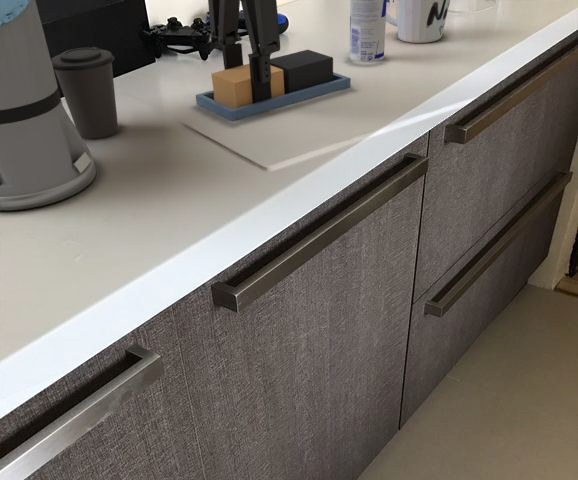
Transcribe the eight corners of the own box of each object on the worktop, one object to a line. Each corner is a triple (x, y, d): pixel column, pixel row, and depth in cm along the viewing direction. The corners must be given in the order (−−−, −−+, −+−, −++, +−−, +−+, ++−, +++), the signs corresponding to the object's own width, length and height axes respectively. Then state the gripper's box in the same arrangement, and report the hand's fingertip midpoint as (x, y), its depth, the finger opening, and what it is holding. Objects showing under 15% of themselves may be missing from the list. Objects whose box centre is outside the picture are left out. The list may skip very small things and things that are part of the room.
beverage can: (390, 62, 107) (395, -47, 98) (358, 67, 106) (361, -43, 96) (374, 54, 111) (378, -52, 102) (343, 59, 110) (344, -48, 100)
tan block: (237, 113, 91) (234, 82, 88) (214, 103, 94) (211, 73, 92) (284, 99, 94) (283, 69, 91) (261, 90, 98) (258, 60, 95)
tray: (232, 125, 89) (231, 111, 88) (196, 107, 95) (195, 94, 94) (350, 90, 98) (350, 77, 97) (310, 76, 104) (310, 64, 103)
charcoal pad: (289, 99, 94) (288, 69, 92) (265, 89, 98) (263, 60, 95) (333, 86, 98) (333, 57, 95) (308, 77, 101) (308, 49, 99)
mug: (437, 48, 112) (443, -20, 106) (357, 40, 119) (358, -25, 112) (458, 32, 119) (465, -32, 113) (381, 26, 125) (384, -36, 119)
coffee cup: (138, 122, 92) (123, 43, 85) (110, 144, 86) (92, 61, 79) (87, 119, 93) (68, 41, 87) (56, 140, 88) (33, 59, 81)
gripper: (305, -102, 74) (311, 110, 90) (217, -109, 86) (235, 79, 101) (249, -94, 71) (265, 124, 86) (166, -103, 83) (193, 90, 98)
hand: (249, 99), depth 94 cm, fingers closed on tan block, 6 cm apart
